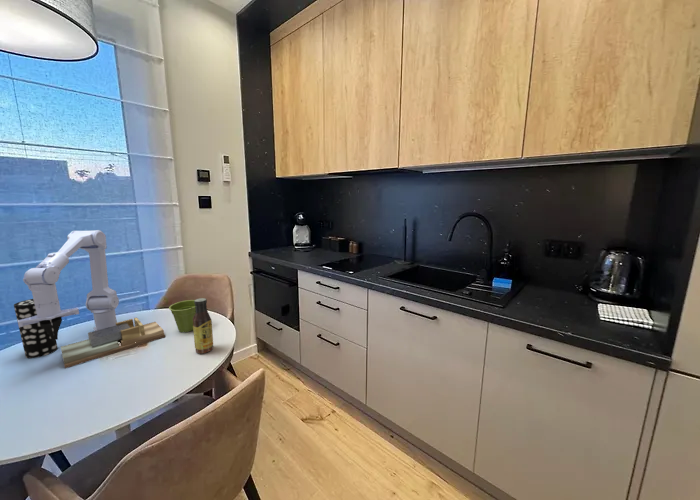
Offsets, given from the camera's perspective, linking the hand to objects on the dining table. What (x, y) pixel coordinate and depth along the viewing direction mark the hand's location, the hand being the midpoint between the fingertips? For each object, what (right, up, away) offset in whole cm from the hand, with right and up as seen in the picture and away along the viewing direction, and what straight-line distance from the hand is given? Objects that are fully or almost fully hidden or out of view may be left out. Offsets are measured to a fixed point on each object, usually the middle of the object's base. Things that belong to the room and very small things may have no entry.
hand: (54, 339), depth 101 cm
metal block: (+10, -3, +12) cm, 16 cm away
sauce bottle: (+48, -7, +9) cm, 49 cm away
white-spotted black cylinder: (-13, -8, +8) cm, 17 cm away
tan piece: (+11, -6, +13) cm, 18 cm away
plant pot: (+32, -4, +26) cm, 41 cm away
